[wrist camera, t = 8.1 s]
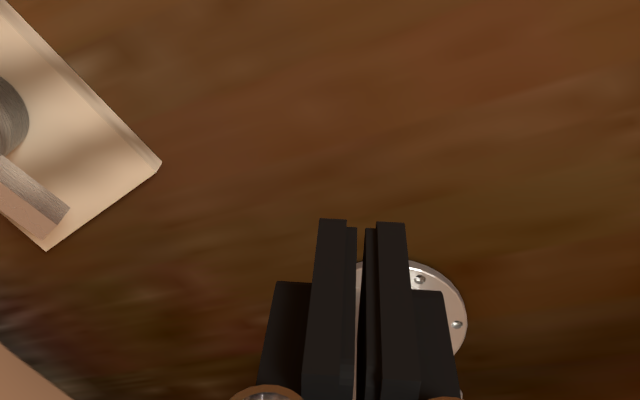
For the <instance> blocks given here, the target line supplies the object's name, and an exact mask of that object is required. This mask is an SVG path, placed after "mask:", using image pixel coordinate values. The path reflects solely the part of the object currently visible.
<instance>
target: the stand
mask: <svg viewBox="0 0 640 400" xmlns="http://www.w3.org/2000/svg"><path fill="white" fill-rule="evenodd" d="M0 76H1V77H2V78H3V79H5V80H6V81H7V82H8V83H10V84H11V85H12V86H13V87H14V89H15V90H16V91H17V92H18V93H19V95H20V96H21V98H22V100H23V101H24V103H25V106H26V108H27V111H28V115H29V129H28V133H27V135H26V137H25V139H24V140H23V141H22V142H21V143H20V144H19V145H18V146H17V147H16V148H15V149H14V150H12V151H11V152H10V153H9V154H8V155H7V156H6V158H7V159H8V160H10V161H11V162H12V163H13V164H15V165H16V166H17V167H19V168H20V169H21V170H22V171H24V172H25V173H26V174H28V175H29V176H30V177H32V178H33V179H34V180H35V181H37V182H38V183H39V184H41V185H42V186H43V187H45V188H46V189H47V190H48V191H50V192H51V193H52V194H54V195H55V196H56V197H58V198H59V199H60V200H61V201H63V202H64V203H65V204H67V205H68V206H69V207H70V210H69V211H68V212H67V213H66V215H65V216H64V217H63V219H62V220H61V221H60V222H59V224H58V225H57V226H56V227H55V228H54V229H53V230H52V231H51V232H50V233H49V234H48V235H47V236H46V237H45V238H44V239H43V240H40V239H39V238H37V237H36V236H35V235H33V234H32V233H31V232H29V231H28V230H27V229H25V228H24V227H22V226H21V225H20V224H18V223H17V222H16V221H14V220H13V219H11V218H10V217H9V216H7V215H6V214H5V213H3V212H2V211H1V210H0V213H1V214H2V215H3V216H5V217H6V218H7V219H8V220H9V221H10V222H12V223H13V224H14V225H15V226H16V227H18V228H19V229H20V230H21V231H22V232H23V233H25V234H26V235H27V236H28V237H29V238H30V239H32V240H33V241H34V242H35V243H36V244H37V245H39V246H40V247H41V248H42V249H43V250H44V251H48V250H49V249H50V248H52V247H53V246H55V245H56V244H57V243H59V242H60V241H62V240H63V239H64V238H66V237H67V236H68V235H70V234H71V233H73V232H74V231H75V230H77V229H78V228H80V227H81V226H82V225H84V224H85V223H87V222H88V221H89V220H91V219H92V218H94V217H95V216H96V215H98V214H99V213H100V212H102V211H103V210H105V209H106V208H107V207H109V206H110V205H112V204H113V203H114V202H116V201H117V200H119V199H120V198H121V197H123V196H124V195H126V194H127V193H128V192H130V191H131V190H133V189H134V188H135V187H137V186H138V185H139V184H141V183H142V182H144V181H145V180H146V179H148V178H149V177H151V176H152V175H153V174H155V173H156V172H157V170H158V169H159V167H160V165H161V164H162V161H161V160H160V159H159V158H158V157H157V156H156V155H155V154H154V153H153V152H152V151H151V150H150V149H149V148H148V147H147V146H146V145H145V144H144V143H143V142H142V141H141V140H140V139H139V137H138V136H137V135H136V134H135V133H134V132H133V131H132V130H131V129H130V128H129V127H128V126H127V125H126V124H125V123H124V122H123V121H122V120H121V119H120V118H119V117H118V116H117V115H116V114H115V113H114V112H113V111H112V110H111V109H110V108H109V107H108V106H107V105H106V104H105V102H104V101H103V100H102V99H101V98H100V97H99V96H98V95H97V94H96V93H95V92H94V91H93V90H92V89H91V88H90V87H89V86H88V85H87V84H86V83H85V82H84V81H83V80H82V79H81V78H80V77H79V76H78V75H77V74H76V73H75V72H74V71H73V70H72V69H71V67H70V66H69V65H68V64H67V63H66V62H65V61H64V60H63V59H62V58H61V57H60V56H59V55H58V54H57V53H56V52H55V51H54V50H53V49H52V48H51V47H50V46H49V45H48V44H47V43H46V42H45V41H44V40H43V39H42V38H41V37H40V36H39V35H38V33H37V32H36V31H35V30H34V29H33V28H32V27H31V26H30V25H29V24H28V23H27V22H26V21H25V20H24V19H23V18H22V17H21V16H20V15H19V14H18V13H17V12H16V11H15V10H14V9H13V8H12V7H11V6H10V5H9V4H8V3H7V2H6V1H5V0H0Z"/></svg>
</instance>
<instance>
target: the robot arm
mask: <svg viewBox="0 0 640 400" xmlns="http://www.w3.org/2000/svg"><path fill="white" fill-rule="evenodd" d="M346 223H347V220H343V219H325V218H320V220H319V228H318V236H317V245H316V254H315V262H314V271H313V279H312V283H303V282H287V281H277V283H276V286H275V290H274V295H273V300H272V305H271V311H270V316H269V321H268V326H267V331H266V336H265V341H264V346H263V351H262V356H261V361H260V366H259V371H258V376H257V381H256V386H253V387H249V388H247V389H245V390H243V391H241V392H238V393H237V394H236V395H234V396H233V397H232V398H231V399H230V400H463V399H462V392H461V390H460V388H459V383H458V377H457V371H456V365H455V360H454V355H455V353H456V352H457V351H458V349H459V348H460V347H461V344H462V342H463V340H464V338H465V335H466V330H467V315H466V310H465V306H464V302H463V300H462V298H461V296H460V294H459V291H458V290H457V289H456V288H455V286H454V285H453V284H452V283H451V282H450V281H449V280H448V279H447V278H446V277H444V276H443V275H442V274H441V273H439V272H437V271H436V270H434V269H432V268H430V267H428V266H426V265H423V264H420V263H417V262H414V261H409V260H408V251H407V242H406V232H405V224H404V223H396V222H378V221H377V222H376V229H374V228H366V229H365V240H364V252H363V261H362V262H359V263H356V260H357V228H356V227H346Z"/></svg>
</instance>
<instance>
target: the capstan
mask: <svg viewBox="0 0 640 400" xmlns="http://www.w3.org/2000/svg"><path fill="white" fill-rule="evenodd" d="M28 129H29V115H28V111H27V108H26V106H25V103H24V101H23V100H22V98H21V96H20V95H19V93H18V92H17V91H16V90H15V89H14V87H13V86H12V85H11V84H10V83H8V82H7V81H6V80H5V79H3V78H2V77H1V76H0V210H1V211H2V212H3V213H5V214H6V215H7V216H9V217H10V218H11V219H13V220H14V221H16V222H17V223H18V224H20V225H21V226H22V227H24V228H25V229H27V230H28V231H29V232H31V233H32V234H33V235H35V236H36V237H37V238H39V239H40V240H43V239H44V238H45V237H46V236H47V235H48V234H49V233H50V232H51V231H52V230H53V229H54V228H55V227H56V226H57V225H58V224H59V222H60V221H61V220H62V219H63V217H64V216H65V215H66V213H67V212H68V211H69V210H70V207H69V206H68V205H67V204H65V203H64V202H63V201H61V200H60V199H59V198H58V197H56V196H55V195H54V194H52V193H51V192H50V191H48V190H47V189H46V188H45V187H43V186H42V185H41V184H39V183H38V182H37V181H35V180H34V179H33V178H32V177H30V176H29V175H28V174H26V173H25V172H24V171H22V170H21V169H20V168H19V167H17V166H16V165H15V164H13V163H12V162H11V161H10V160H8V159H7V158H6V156H7V155H8V154H9V153H10V152H11V151H12V150H14V149H15V148H16V147H17V146H18V145H19V144H20V143H21V142H22V141H23V140H24V139H25V137H26V135H27V133H28Z"/></svg>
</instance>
